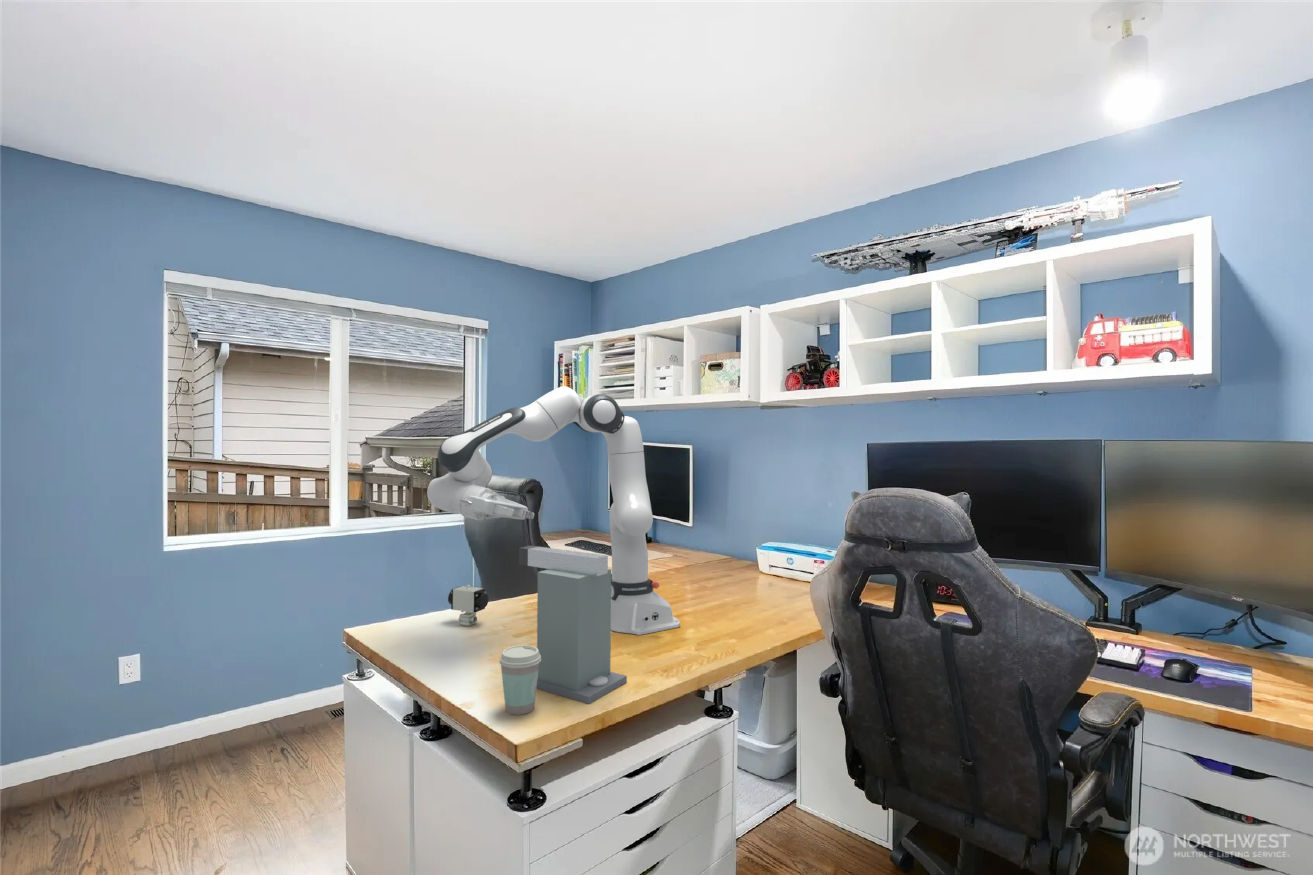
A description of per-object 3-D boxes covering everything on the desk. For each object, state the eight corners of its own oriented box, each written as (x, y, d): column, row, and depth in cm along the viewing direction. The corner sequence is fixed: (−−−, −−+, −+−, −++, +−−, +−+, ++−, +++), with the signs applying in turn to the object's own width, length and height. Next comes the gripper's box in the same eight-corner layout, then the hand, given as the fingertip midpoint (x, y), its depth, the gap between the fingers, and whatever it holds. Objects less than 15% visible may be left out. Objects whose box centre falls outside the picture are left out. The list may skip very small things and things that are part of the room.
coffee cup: (538, 717, 122) (538, 658, 122) (495, 718, 121) (495, 658, 122) (542, 699, 131) (543, 644, 131) (502, 700, 130) (503, 644, 130)
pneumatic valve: (479, 628, 180) (479, 588, 180) (447, 624, 184) (447, 585, 184) (490, 623, 185) (490, 584, 185) (459, 619, 189) (459, 581, 189)
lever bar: (518, 564, 147) (518, 547, 147) (530, 561, 150) (530, 545, 150) (596, 576, 134) (597, 558, 134) (607, 573, 137) (607, 555, 138)
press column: (533, 687, 137) (534, 572, 137) (573, 668, 149) (574, 562, 149) (588, 703, 128) (589, 581, 129) (626, 682, 140) (627, 570, 141)
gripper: (459, 487, 153) (504, 498, 148) (503, 496, 172) (545, 506, 167) (452, 511, 152) (497, 523, 147) (498, 517, 171) (539, 528, 166)
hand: (523, 514), depth 157 cm, fingers open, 8 cm apart
